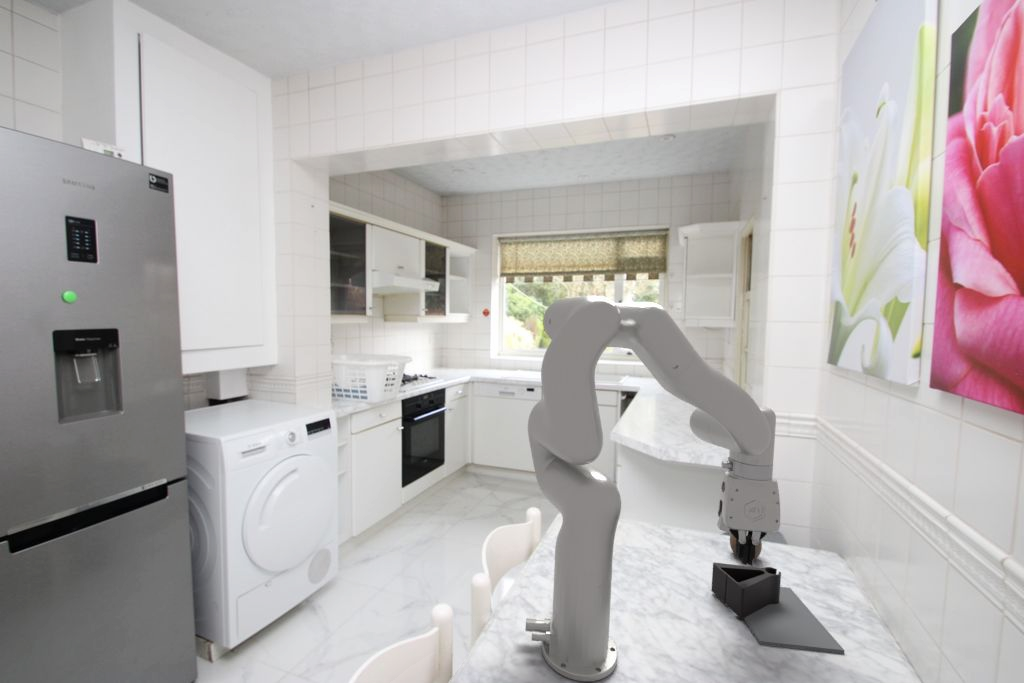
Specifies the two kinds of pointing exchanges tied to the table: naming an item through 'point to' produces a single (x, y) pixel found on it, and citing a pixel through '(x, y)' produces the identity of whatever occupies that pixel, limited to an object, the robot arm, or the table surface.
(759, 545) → the vase
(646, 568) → the table surface
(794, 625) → the mat
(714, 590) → the phone stand
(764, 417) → the robot arm
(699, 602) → the table surface
